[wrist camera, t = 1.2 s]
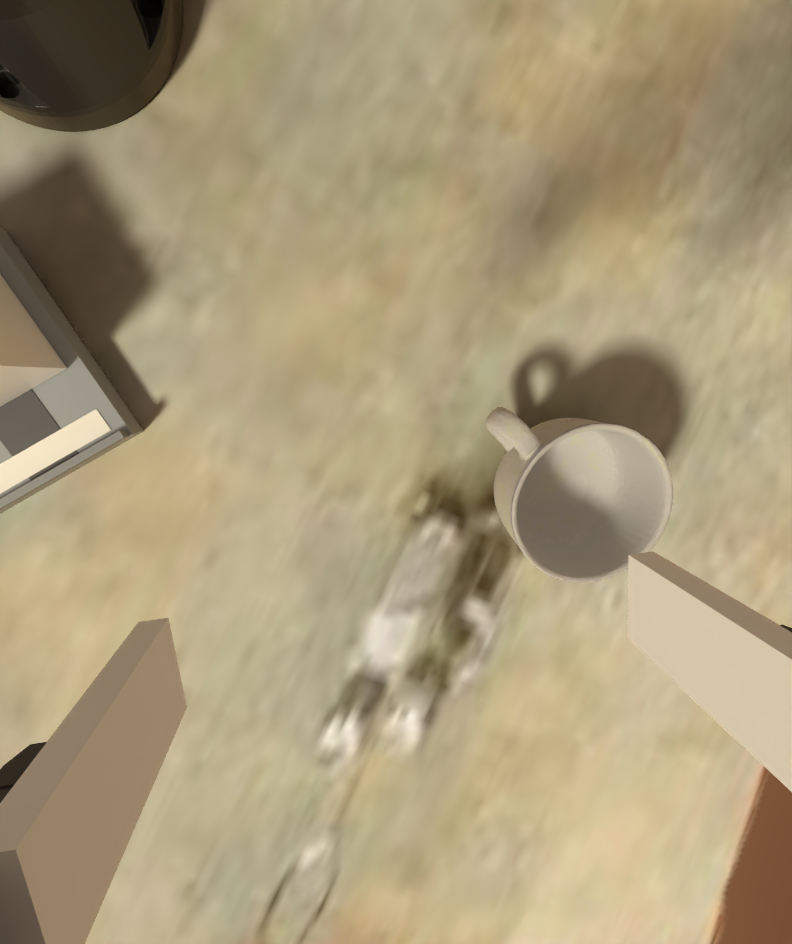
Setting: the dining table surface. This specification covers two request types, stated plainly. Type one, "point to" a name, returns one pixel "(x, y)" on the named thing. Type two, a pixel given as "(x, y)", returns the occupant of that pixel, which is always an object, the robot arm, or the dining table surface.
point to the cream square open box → (22, 349)
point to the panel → (54, 399)
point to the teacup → (579, 494)
